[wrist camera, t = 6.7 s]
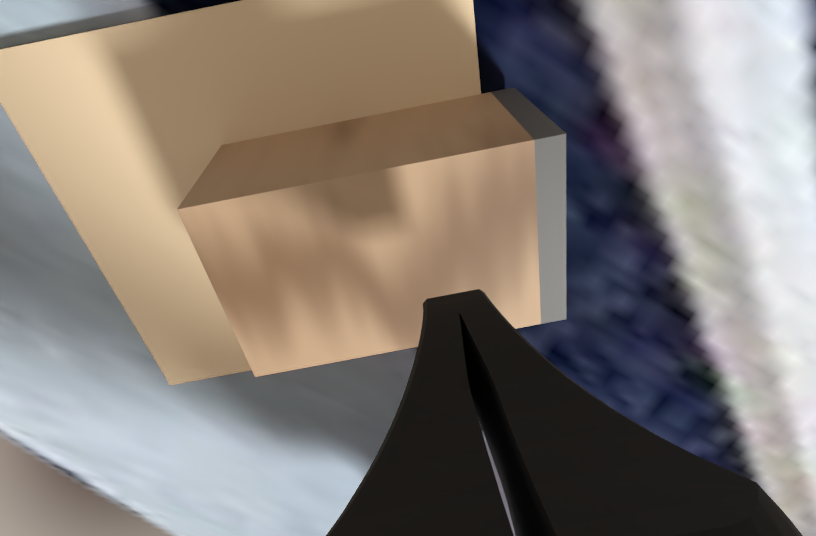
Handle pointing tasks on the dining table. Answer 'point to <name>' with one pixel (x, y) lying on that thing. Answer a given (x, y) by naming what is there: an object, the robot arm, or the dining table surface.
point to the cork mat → (210, 128)
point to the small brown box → (382, 227)
